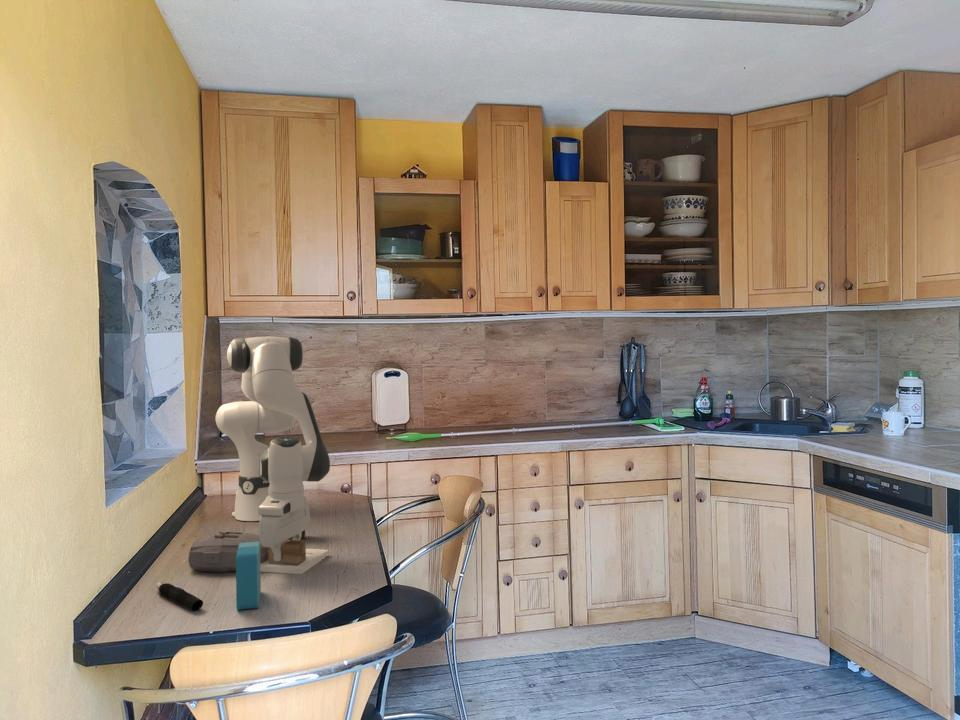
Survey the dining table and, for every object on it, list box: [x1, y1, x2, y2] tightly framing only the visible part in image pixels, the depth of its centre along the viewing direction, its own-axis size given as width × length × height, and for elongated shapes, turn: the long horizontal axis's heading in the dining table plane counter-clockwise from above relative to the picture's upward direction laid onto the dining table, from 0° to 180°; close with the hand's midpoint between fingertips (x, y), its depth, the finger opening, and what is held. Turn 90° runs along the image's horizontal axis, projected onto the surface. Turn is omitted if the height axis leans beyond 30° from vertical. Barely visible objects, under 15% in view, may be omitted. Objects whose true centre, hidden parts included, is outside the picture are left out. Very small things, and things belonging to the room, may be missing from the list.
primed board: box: [260, 548, 330, 575], centre depth 177 cm, size 16×12×2 cm
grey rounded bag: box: [188, 531, 269, 573], centre depth 176 cm, size 15×8×20 cm
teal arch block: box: [235, 542, 262, 611], centre depth 150 cm, size 12×4×12 cm, turn 16°
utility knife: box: [156, 580, 204, 612], centre depth 152 cm, size 22×4×3 cm, turn 49°
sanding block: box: [268, 540, 307, 566], centre depth 173 cm, size 4×8×5 cm, turn 78°
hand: (286, 555), depth 173 cm, fingers open, 7 cm apart
